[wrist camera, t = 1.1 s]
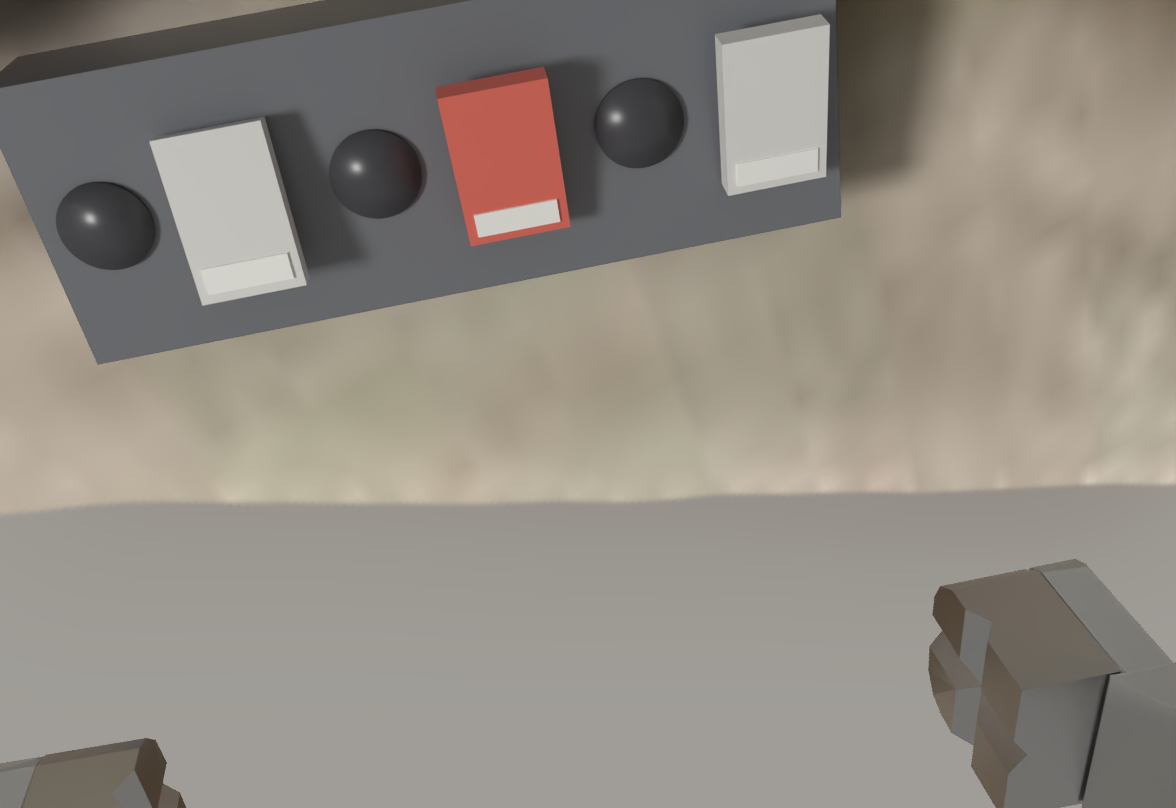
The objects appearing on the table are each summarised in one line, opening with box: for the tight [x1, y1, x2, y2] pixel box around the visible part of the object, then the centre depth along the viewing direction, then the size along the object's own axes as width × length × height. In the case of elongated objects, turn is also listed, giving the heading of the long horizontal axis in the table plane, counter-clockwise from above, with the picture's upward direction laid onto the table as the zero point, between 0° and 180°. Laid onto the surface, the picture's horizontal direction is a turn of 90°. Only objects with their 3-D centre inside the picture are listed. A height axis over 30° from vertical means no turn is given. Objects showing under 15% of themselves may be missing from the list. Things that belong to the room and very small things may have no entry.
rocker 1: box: [149, 117, 310, 306], centre depth 33 cm, size 3×5×1 cm, turn 8°
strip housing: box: [0, 0, 841, 364], centre depth 36 cm, size 25×9×4 cm, turn 98°
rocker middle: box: [435, 67, 571, 246], centre depth 33 cm, size 3×5×1 cm, turn 9°
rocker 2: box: [715, 14, 830, 196], centre depth 34 cm, size 3×5×1 cm, turn 9°
